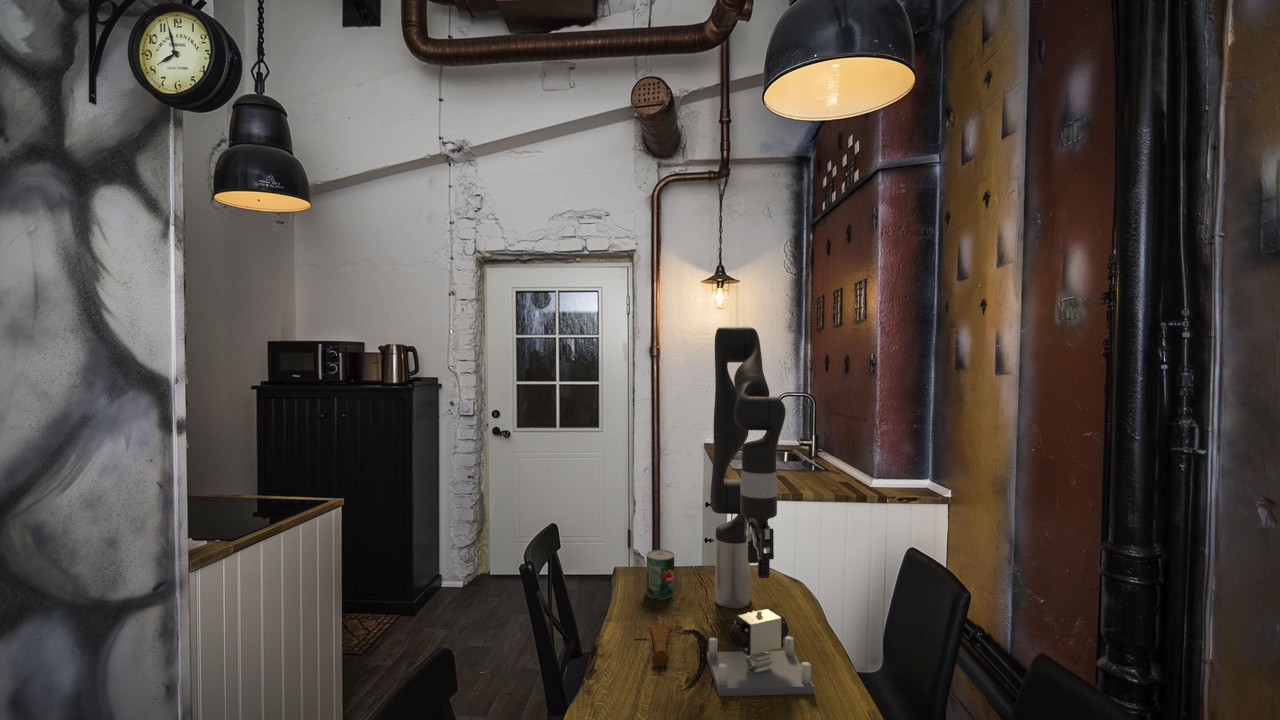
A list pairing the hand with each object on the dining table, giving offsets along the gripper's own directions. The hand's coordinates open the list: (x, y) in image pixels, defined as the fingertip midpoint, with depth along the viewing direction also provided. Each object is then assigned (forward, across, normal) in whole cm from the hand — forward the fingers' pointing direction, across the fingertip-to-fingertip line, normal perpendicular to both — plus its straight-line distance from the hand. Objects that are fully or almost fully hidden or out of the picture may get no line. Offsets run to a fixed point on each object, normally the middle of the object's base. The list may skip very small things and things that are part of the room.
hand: (758, 569), depth 120 cm
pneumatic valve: (+21, 0, 0) cm, 21 cm away
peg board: (+22, 0, 0) cm, 22 cm away
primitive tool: (+23, +14, +19) cm, 33 cm away
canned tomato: (+22, +43, +16) cm, 51 cm away
